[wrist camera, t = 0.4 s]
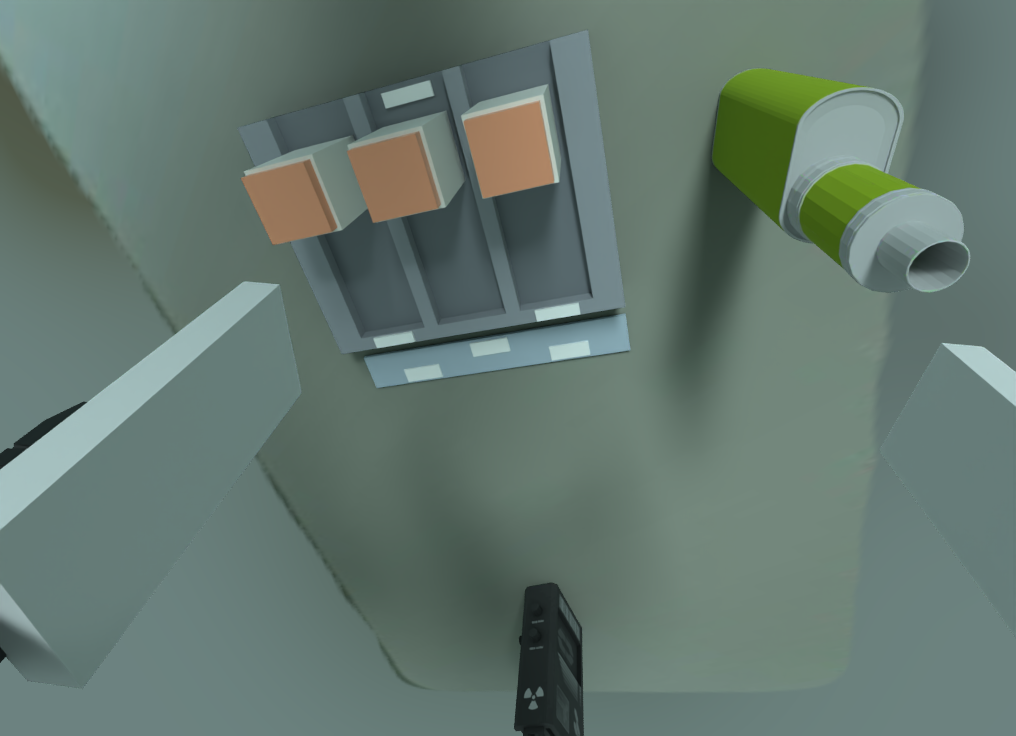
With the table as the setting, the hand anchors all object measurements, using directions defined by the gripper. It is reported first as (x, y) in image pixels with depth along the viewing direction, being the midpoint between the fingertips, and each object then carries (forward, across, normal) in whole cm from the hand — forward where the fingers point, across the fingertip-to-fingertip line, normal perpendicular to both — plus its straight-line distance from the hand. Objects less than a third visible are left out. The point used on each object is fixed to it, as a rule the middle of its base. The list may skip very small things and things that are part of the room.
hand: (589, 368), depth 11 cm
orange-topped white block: (+24, -9, -1) cm, 26 cm away
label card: (+26, -5, -16) cm, 31 cm away
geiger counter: (+26, +3, -48) cm, 55 cm away
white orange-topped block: (+24, -3, +1) cm, 24 cm away
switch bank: (+26, -8, -5) cm, 28 cm away
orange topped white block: (+24, -15, -2) cm, 28 cm away
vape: (+26, +10, +2) cm, 28 cm away
